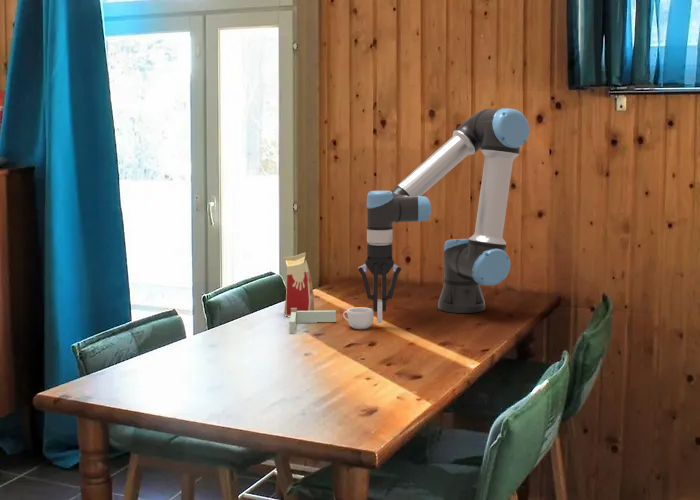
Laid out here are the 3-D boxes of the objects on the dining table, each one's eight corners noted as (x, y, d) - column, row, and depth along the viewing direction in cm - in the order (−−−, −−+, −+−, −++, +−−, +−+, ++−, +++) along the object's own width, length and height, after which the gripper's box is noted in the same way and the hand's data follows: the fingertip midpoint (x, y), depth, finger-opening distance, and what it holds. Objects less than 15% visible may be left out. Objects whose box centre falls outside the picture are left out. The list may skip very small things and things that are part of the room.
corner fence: (335, 321, 274) (335, 307, 274) (336, 333, 259) (336, 318, 259) (291, 321, 274) (290, 307, 273) (289, 333, 259) (289, 318, 258)
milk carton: (314, 311, 289) (313, 250, 286) (310, 317, 280) (309, 254, 277) (286, 311, 290) (285, 250, 287) (281, 317, 280) (280, 254, 278)
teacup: (378, 326, 267) (378, 309, 266) (364, 331, 260) (364, 313, 260) (350, 322, 272) (350, 305, 271) (336, 327, 266) (336, 310, 265)
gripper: (400, 241, 267) (400, 319, 270) (357, 241, 266) (357, 319, 270) (402, 245, 259) (402, 324, 263) (358, 245, 259) (358, 325, 262)
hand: (379, 322), depth 266 cm, fingers closed
